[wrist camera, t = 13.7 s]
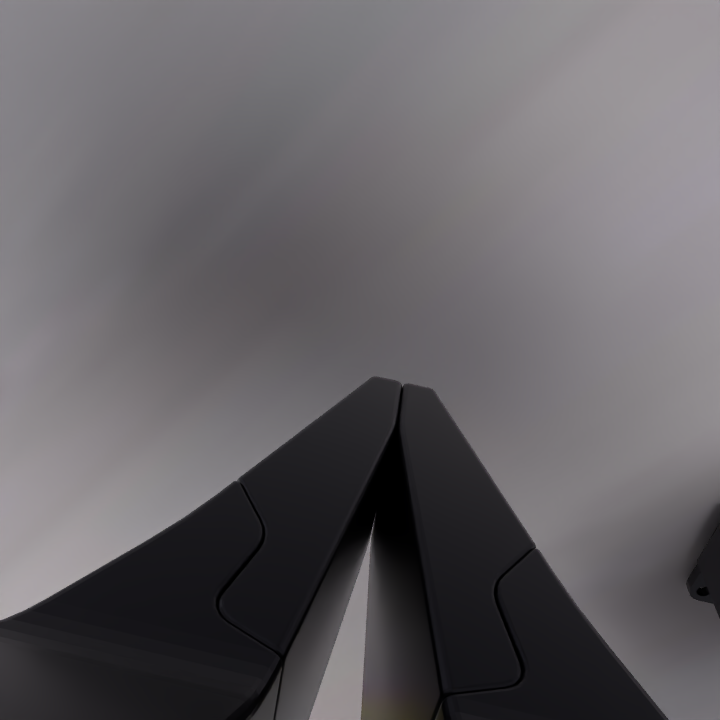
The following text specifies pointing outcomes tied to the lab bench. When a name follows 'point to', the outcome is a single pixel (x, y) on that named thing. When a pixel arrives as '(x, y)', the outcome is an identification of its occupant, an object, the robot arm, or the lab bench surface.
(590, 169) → the lab bench surface
